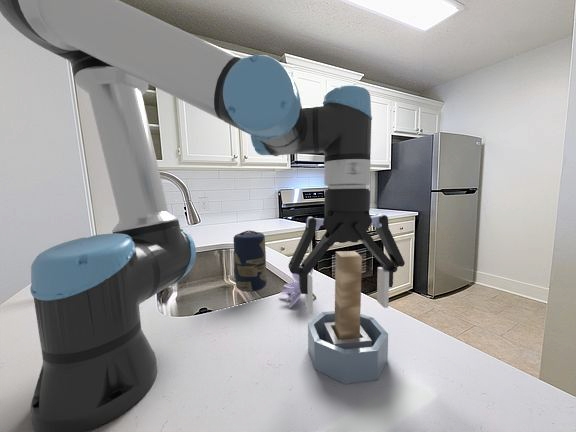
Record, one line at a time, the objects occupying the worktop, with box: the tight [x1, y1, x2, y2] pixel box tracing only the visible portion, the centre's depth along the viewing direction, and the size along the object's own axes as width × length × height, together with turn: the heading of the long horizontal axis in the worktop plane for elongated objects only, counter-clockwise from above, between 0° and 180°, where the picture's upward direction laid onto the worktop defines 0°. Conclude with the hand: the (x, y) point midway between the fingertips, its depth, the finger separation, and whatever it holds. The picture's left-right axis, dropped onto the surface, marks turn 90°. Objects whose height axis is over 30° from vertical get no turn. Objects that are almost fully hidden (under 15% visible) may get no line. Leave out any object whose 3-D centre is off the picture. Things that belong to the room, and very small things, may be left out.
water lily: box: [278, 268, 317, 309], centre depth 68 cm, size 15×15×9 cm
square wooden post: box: [334, 250, 363, 340], centre depth 44 cm, size 4×4×18 cm
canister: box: [233, 230, 267, 293], centre depth 75 cm, size 10×10×18 cm
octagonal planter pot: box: [307, 310, 389, 385], centre depth 44 cm, size 13×13×5 cm
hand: (346, 307), depth 44 cm, fingers open, 13 cm apart
